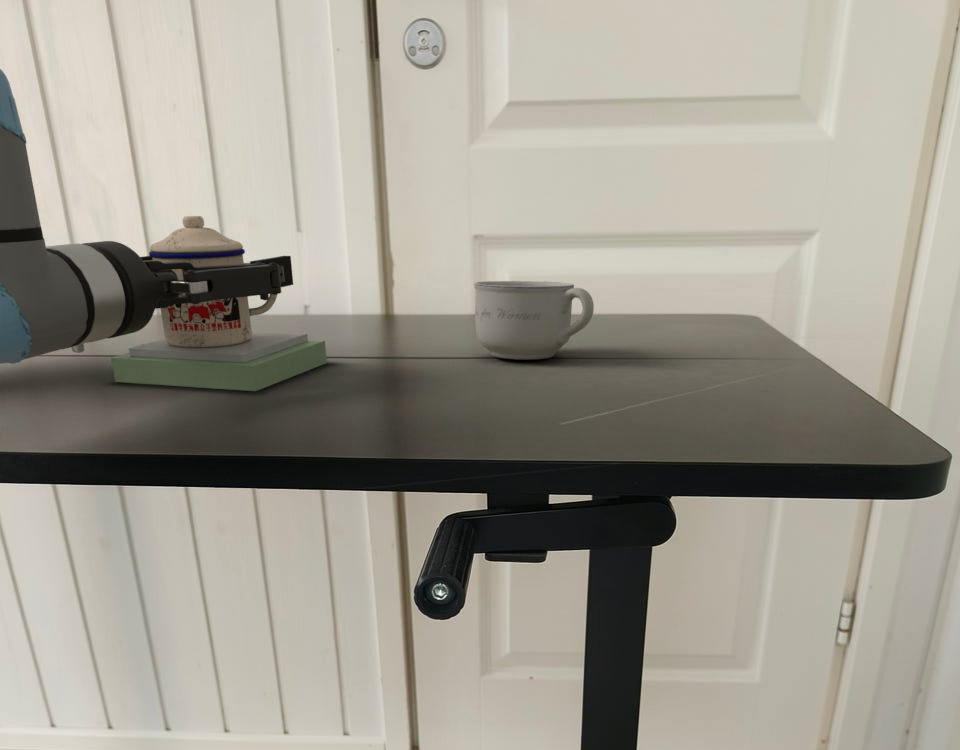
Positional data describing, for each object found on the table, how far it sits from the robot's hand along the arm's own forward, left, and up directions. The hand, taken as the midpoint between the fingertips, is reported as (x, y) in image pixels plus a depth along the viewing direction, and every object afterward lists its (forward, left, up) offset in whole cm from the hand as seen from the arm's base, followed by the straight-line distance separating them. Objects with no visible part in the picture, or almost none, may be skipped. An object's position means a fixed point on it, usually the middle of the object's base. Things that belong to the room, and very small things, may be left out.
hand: (230, 268), depth 94 cm
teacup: (+29, +13, -10) cm, 33 cm away
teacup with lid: (0, -3, -7) cm, 8 cm away
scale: (0, -3, -10) cm, 10 cm away
